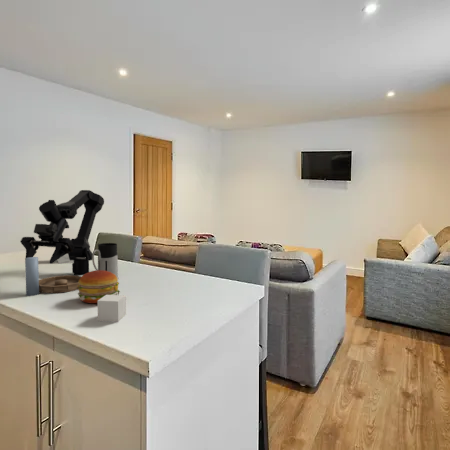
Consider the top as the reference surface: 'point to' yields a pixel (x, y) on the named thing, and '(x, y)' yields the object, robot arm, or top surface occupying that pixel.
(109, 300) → the white cube
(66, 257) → the ink box
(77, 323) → the top surface
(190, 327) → the top surface
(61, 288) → the tray
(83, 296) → the burger
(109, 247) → the grey jug
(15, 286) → the top surface
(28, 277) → the peg
